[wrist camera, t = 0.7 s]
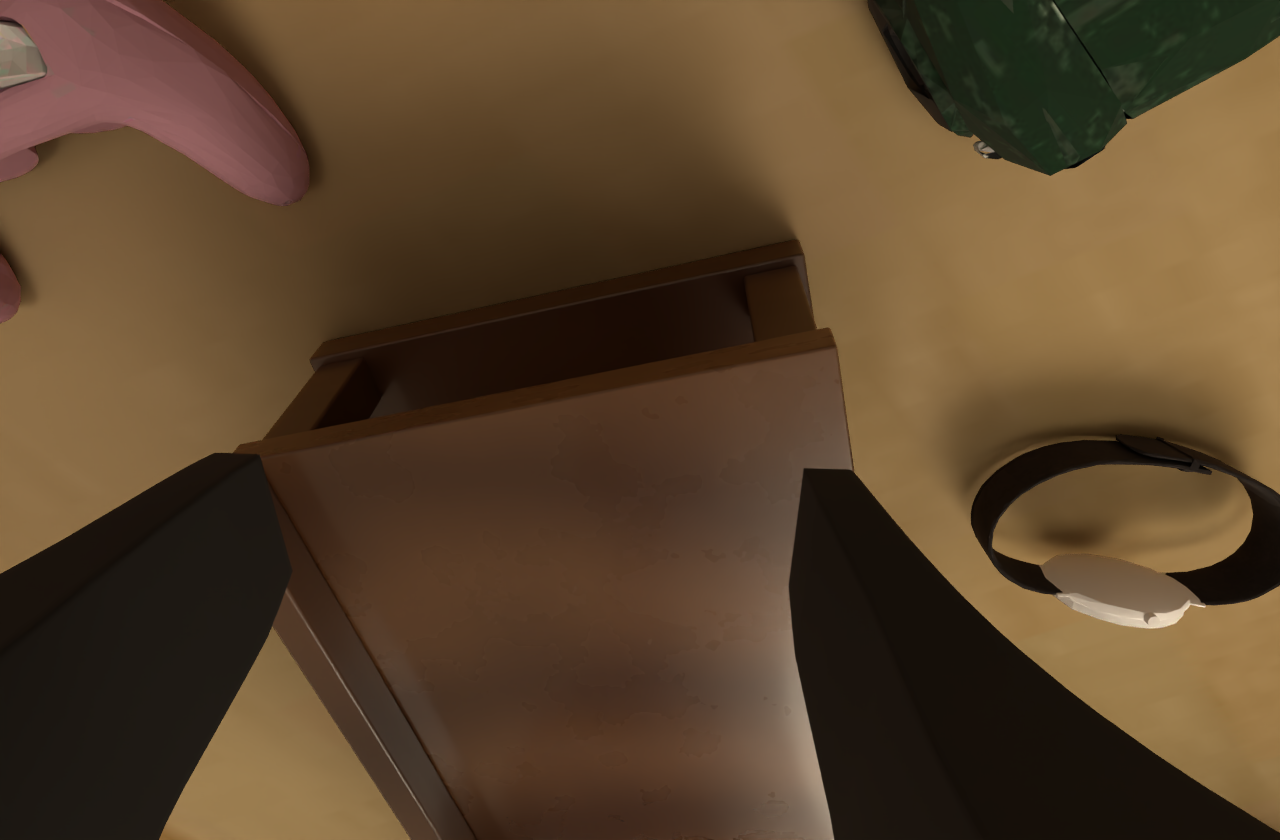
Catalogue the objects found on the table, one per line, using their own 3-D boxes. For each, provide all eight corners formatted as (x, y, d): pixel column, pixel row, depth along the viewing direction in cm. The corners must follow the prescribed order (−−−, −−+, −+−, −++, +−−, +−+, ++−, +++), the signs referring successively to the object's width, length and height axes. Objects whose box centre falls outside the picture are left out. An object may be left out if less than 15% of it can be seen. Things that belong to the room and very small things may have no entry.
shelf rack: (869, 700, 27) (919, 911, 21) (519, 745, 29) (481, 950, 23) (798, 237, 19) (849, 379, 13) (322, 341, 21) (190, 503, 15)
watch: (942, 552, 24) (981, 648, 21) (986, 411, 21) (1038, 496, 18) (1213, 570, 24) (1293, 669, 21) (1289, 430, 21) (1393, 520, 18)
